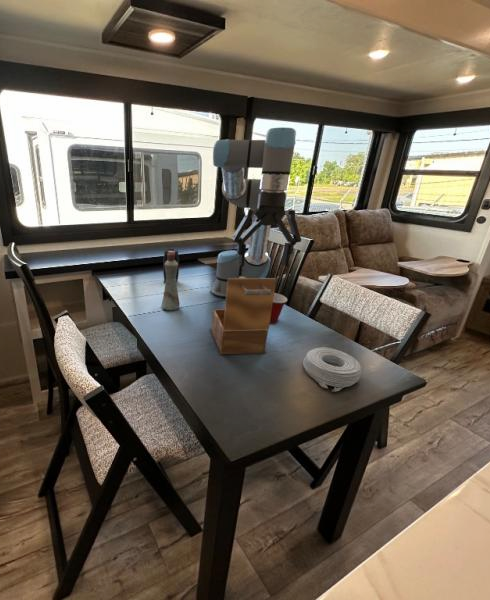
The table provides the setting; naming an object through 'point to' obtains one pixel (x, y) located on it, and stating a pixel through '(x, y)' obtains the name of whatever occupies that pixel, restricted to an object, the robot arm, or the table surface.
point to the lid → (248, 303)
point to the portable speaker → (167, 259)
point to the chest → (236, 337)
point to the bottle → (170, 284)
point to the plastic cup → (277, 307)
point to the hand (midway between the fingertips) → (263, 265)
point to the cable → (332, 368)
